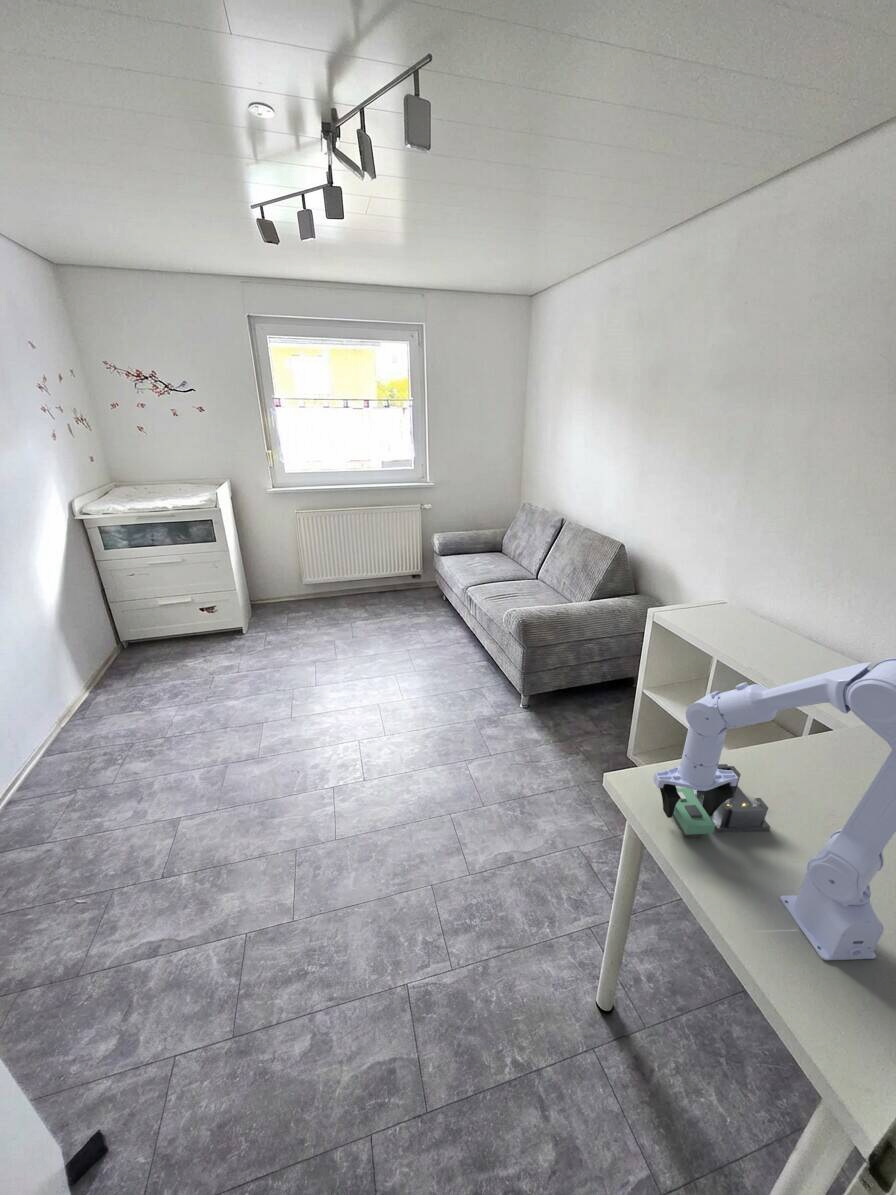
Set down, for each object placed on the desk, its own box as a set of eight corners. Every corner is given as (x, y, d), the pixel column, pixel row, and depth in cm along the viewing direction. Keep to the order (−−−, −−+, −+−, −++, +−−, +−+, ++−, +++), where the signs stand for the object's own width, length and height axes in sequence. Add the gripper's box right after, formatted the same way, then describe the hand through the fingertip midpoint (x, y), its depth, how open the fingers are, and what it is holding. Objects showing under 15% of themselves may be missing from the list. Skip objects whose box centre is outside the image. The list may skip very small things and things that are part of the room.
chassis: (730, 782, 101) (735, 763, 99) (769, 830, 89) (775, 810, 87) (684, 783, 100) (688, 764, 99) (716, 832, 89) (722, 812, 87)
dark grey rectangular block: (700, 836, 88) (703, 827, 87) (684, 837, 88) (687, 827, 87) (684, 811, 94) (687, 801, 93) (669, 811, 94) (671, 802, 93)
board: (688, 795, 94) (690, 785, 93) (712, 833, 86) (715, 822, 85) (663, 796, 94) (665, 786, 93) (685, 834, 86) (688, 823, 85)
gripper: (727, 740, 89) (713, 795, 94) (651, 742, 88) (640, 797, 93) (751, 767, 82) (734, 825, 87) (668, 769, 82) (656, 827, 87)
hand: (687, 813), depth 90 cm, fingers open, 7 cm apart
